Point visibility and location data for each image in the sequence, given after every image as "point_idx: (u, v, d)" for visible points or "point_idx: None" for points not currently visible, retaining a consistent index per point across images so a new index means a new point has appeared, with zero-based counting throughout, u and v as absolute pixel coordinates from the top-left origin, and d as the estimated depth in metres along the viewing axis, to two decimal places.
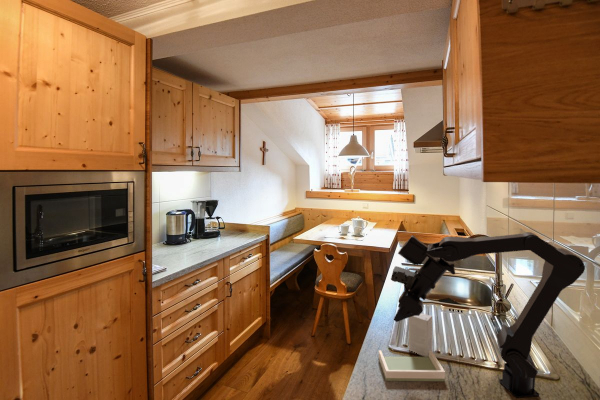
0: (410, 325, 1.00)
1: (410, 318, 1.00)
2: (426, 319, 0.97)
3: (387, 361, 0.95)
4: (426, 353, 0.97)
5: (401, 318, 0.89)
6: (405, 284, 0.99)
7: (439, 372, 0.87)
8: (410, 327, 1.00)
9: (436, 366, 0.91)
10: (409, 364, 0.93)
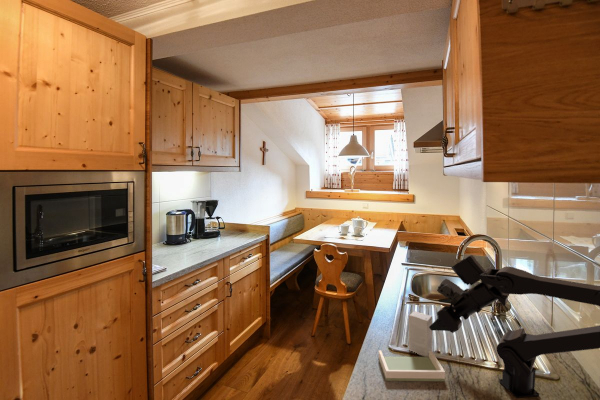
0: (410, 325, 1.00)
1: (410, 318, 1.00)
2: (426, 319, 0.97)
3: (387, 361, 0.95)
4: (426, 353, 0.97)
5: (436, 329, 0.91)
6: None
7: (439, 372, 0.87)
8: (410, 327, 1.00)
9: (436, 366, 0.91)
10: (409, 364, 0.93)
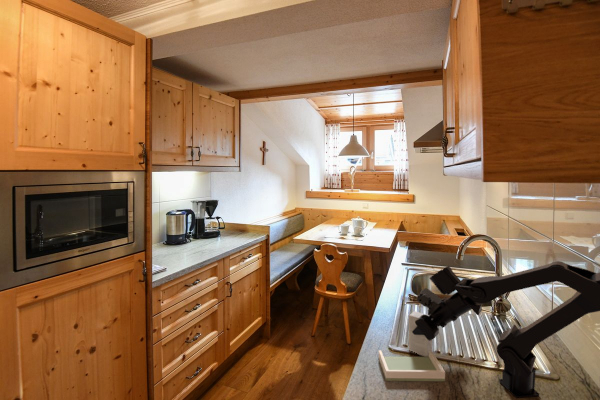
0: (410, 325, 1.00)
1: (410, 318, 1.00)
2: None
3: (387, 361, 0.95)
4: (426, 353, 0.97)
5: (418, 333, 0.97)
6: (430, 308, 1.01)
7: (439, 372, 0.87)
8: (410, 327, 1.00)
9: (436, 366, 0.91)
10: (409, 364, 0.93)
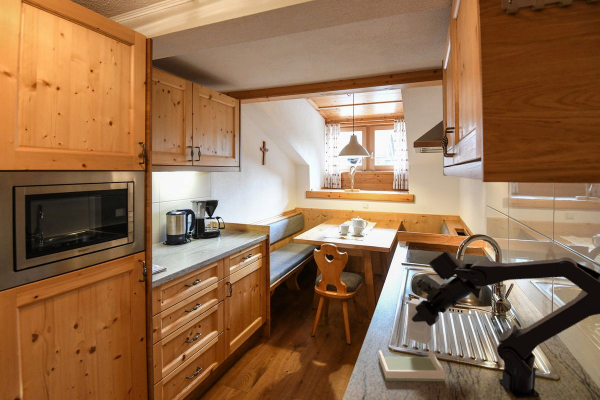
0: (409, 312, 0.99)
1: (409, 305, 0.99)
2: None
3: (387, 361, 0.95)
4: (426, 340, 0.96)
5: (418, 320, 0.96)
6: None
7: (439, 372, 0.87)
8: (409, 314, 0.99)
9: (436, 366, 0.91)
10: (409, 364, 0.93)
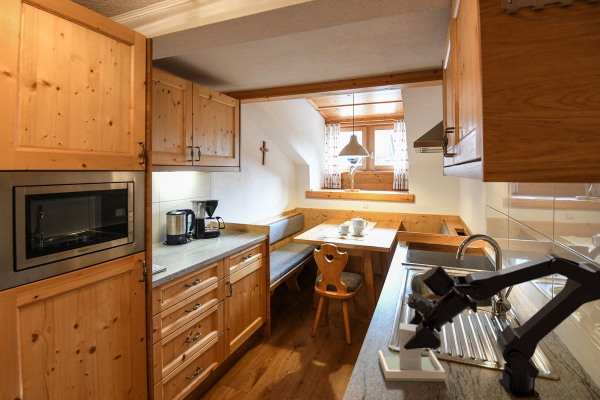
0: (401, 340, 0.90)
1: (401, 332, 0.90)
2: None
3: (387, 361, 0.95)
4: (420, 367, 0.89)
5: (412, 347, 0.86)
6: (416, 309, 0.96)
7: (439, 372, 0.87)
8: (401, 342, 0.90)
9: (436, 366, 0.91)
10: None
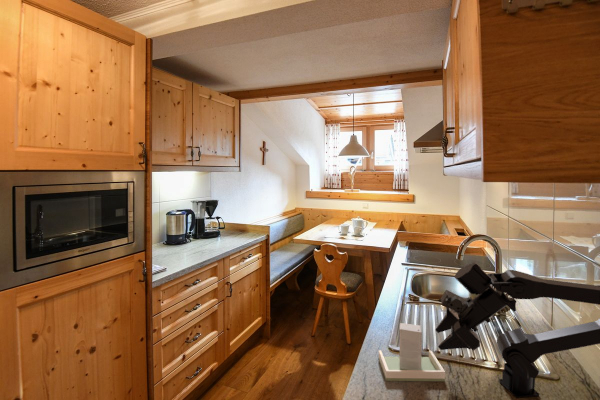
0: (401, 340, 0.90)
1: (401, 332, 0.90)
2: (419, 331, 0.89)
3: (387, 361, 0.95)
4: (420, 367, 0.89)
5: (448, 347, 0.83)
6: (447, 308, 0.93)
7: (439, 372, 0.87)
8: (401, 342, 0.90)
9: (436, 366, 0.91)
10: None
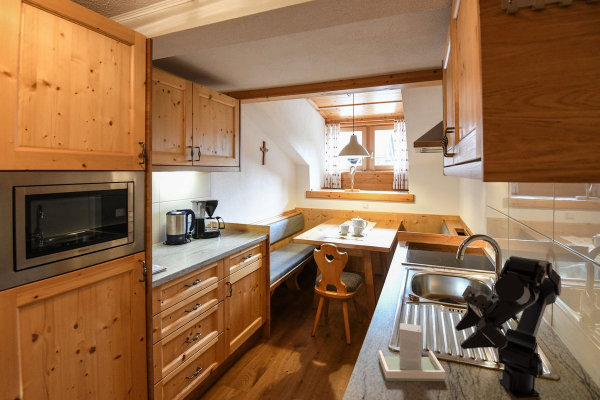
0: (401, 340, 0.90)
1: (401, 332, 0.90)
2: (419, 331, 0.89)
3: (387, 361, 0.95)
4: (420, 367, 0.89)
5: (471, 346, 0.78)
6: (468, 305, 0.87)
7: (439, 372, 0.87)
8: (401, 342, 0.90)
9: (436, 366, 0.91)
10: None
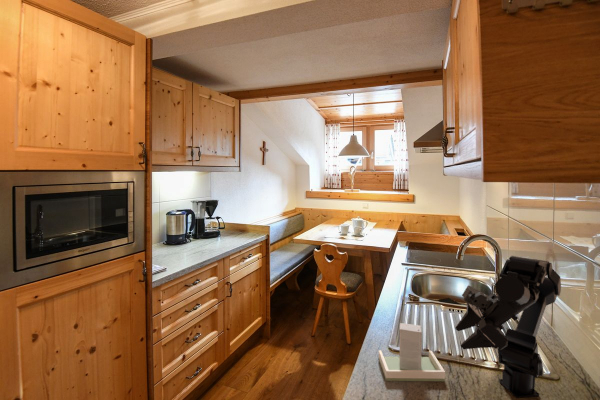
0: (401, 340, 0.90)
1: (401, 332, 0.90)
2: (419, 331, 0.89)
3: (387, 361, 0.95)
4: (420, 367, 0.89)
5: (471, 346, 0.78)
6: (468, 305, 0.87)
7: (439, 372, 0.87)
8: (401, 342, 0.90)
9: (436, 366, 0.91)
10: None
